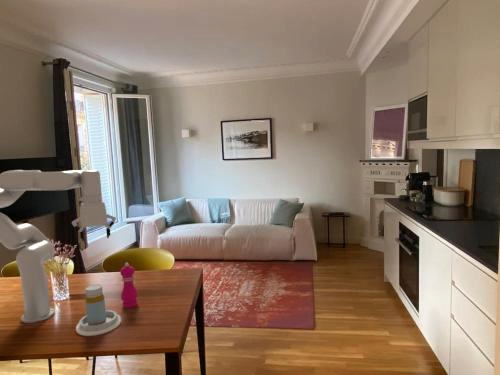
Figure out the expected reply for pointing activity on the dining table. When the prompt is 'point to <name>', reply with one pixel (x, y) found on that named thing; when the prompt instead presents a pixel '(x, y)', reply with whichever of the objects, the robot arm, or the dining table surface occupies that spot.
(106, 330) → the collar base
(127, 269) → the pepper mill
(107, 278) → the dining table surface
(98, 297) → the bottle
